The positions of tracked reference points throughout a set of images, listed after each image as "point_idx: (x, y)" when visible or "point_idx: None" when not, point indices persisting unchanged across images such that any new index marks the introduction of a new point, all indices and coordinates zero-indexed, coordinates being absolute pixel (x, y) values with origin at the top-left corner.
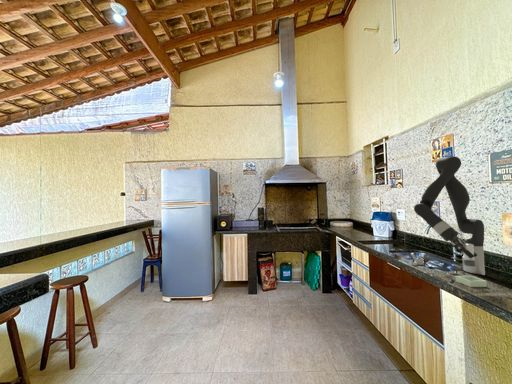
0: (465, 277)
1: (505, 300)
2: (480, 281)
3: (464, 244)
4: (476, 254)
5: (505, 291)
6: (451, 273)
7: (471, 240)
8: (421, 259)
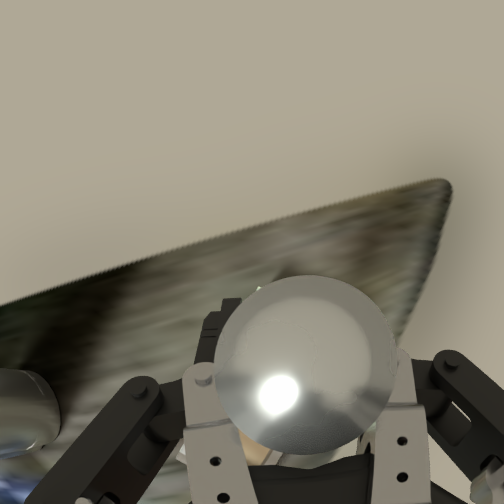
0: None
1: (360, 201)
2: None
3: (376, 415)
4: (241, 301)
5: (223, 240)
6: None
7: None
8: None
